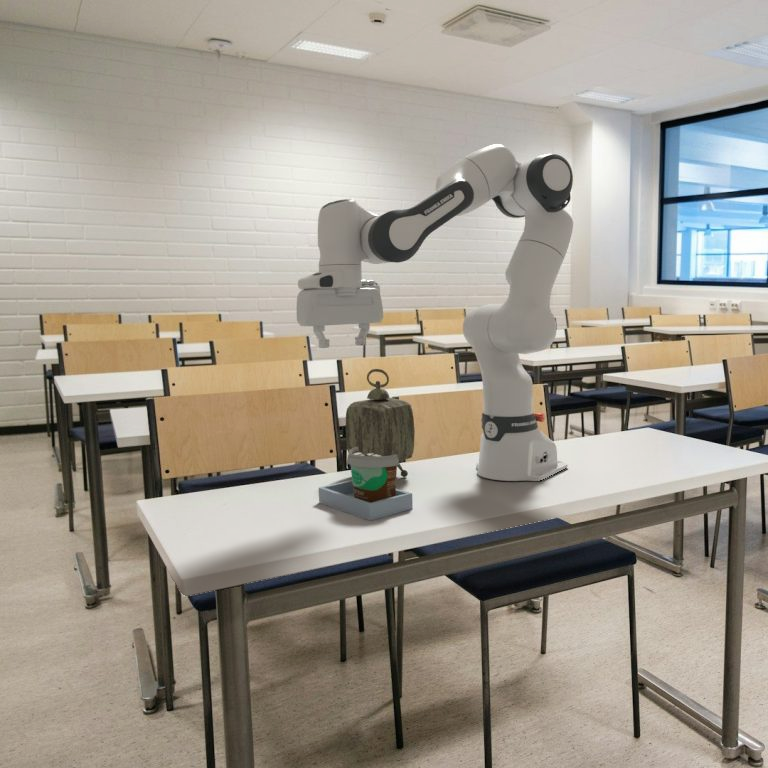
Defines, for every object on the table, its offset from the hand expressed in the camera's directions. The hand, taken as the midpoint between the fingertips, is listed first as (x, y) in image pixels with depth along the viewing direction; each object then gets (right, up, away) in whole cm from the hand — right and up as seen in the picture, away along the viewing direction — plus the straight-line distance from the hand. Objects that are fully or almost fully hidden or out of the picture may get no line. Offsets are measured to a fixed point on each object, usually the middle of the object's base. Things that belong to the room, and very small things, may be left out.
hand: (342, 346), depth 146 cm
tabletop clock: (+8, -29, +16) cm, 34 cm away
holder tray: (+5, -32, -7) cm, 33 cm away
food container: (+5, -32, -7) cm, 33 cm away
